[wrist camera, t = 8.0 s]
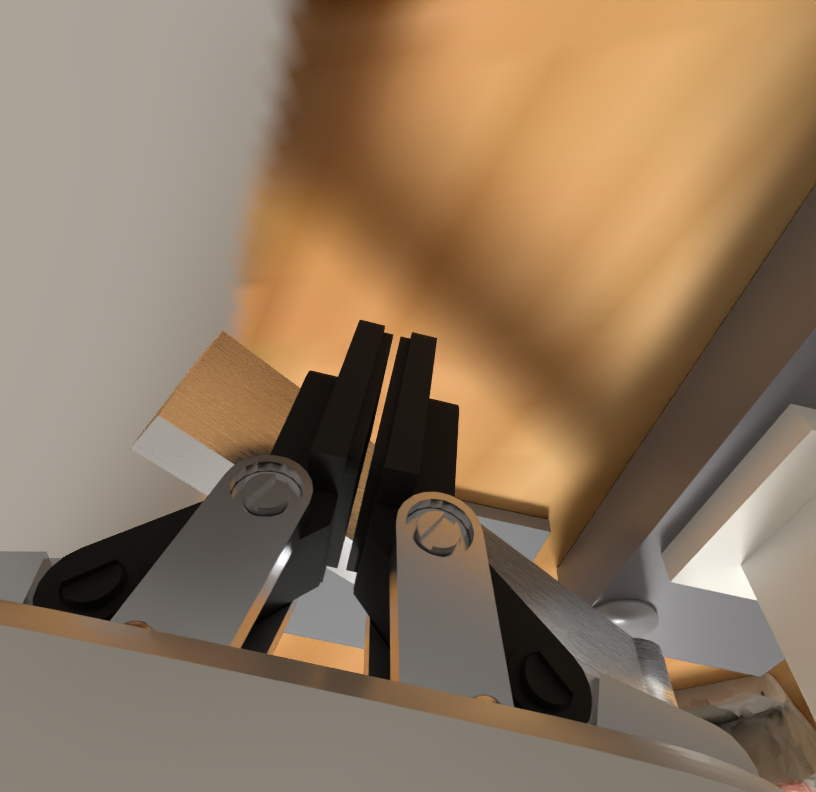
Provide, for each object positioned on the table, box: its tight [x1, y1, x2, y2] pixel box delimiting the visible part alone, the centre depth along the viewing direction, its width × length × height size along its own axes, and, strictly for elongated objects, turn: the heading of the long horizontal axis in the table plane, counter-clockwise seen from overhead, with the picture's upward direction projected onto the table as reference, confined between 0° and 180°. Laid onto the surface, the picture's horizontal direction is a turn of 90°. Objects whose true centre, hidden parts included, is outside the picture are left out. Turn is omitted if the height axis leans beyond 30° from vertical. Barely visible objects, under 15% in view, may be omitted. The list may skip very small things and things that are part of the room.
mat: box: [283, 501, 551, 649], centre depth 24 cm, size 12×11×1 cm
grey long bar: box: [130, 331, 678, 707], centre depth 14 cm, size 18×2×3 cm, turn 47°
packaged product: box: [674, 673, 816, 792], centre depth 30 cm, size 18×5×10 cm
